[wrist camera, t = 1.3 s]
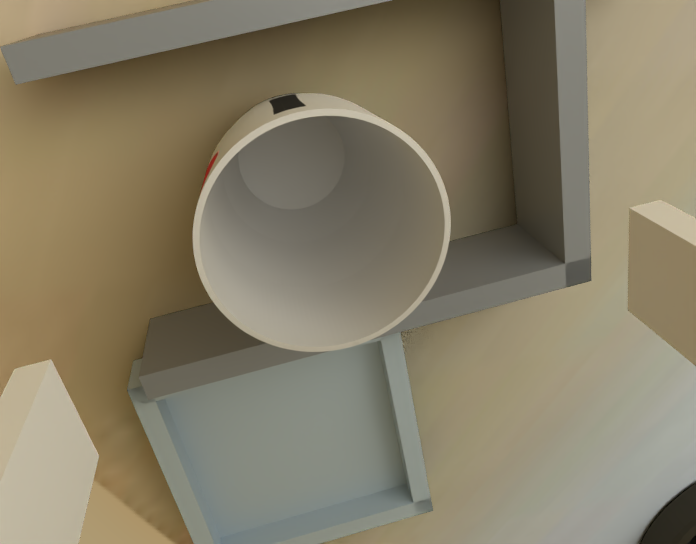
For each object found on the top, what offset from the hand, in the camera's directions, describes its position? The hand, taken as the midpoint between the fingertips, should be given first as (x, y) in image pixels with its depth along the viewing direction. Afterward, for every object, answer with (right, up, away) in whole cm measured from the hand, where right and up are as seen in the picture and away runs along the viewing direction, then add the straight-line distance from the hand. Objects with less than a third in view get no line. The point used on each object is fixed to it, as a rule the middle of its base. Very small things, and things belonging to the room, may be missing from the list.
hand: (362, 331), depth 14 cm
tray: (-3, -7, +21) cm, 22 cm away
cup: (-3, +7, +15) cm, 16 cm away
